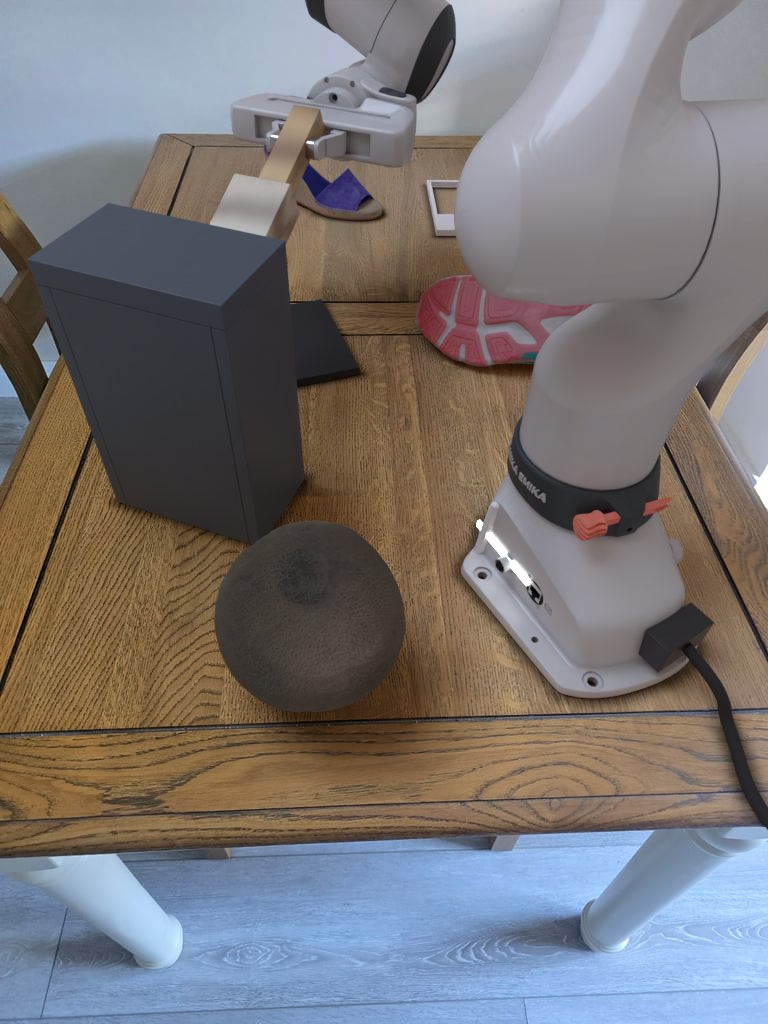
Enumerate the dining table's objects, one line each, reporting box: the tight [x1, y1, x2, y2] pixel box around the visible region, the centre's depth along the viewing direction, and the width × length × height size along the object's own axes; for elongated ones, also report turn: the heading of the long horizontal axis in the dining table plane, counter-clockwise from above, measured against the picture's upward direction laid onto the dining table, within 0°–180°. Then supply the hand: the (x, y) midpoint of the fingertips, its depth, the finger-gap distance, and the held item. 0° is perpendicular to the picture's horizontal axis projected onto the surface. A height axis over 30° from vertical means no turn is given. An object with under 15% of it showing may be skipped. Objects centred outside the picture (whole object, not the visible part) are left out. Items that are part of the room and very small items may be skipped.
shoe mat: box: [290, 298, 360, 387], centre depth 89 cm, size 16×10×1 cm, turn 20°
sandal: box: [263, 95, 384, 222], centre depth 110 cm, size 8×20×15 cm, turn 60°
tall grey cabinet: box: [26, 202, 306, 546], centre depth 62 cm, size 10×16×26 cm, turn 70°
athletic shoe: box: [414, 274, 593, 368], centre depth 88 cm, size 27×9×12 cm
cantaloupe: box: [213, 520, 407, 713], centre depth 53 cm, size 14×14×15 cm
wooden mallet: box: [209, 105, 325, 245], centre depth 70 cm, size 18×6×4 cm, turn 160°
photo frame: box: [425, 179, 459, 237], centre depth 115 cm, size 15×1×18 cm
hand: (292, 147), depth 72 cm, fingers closed on wooden mallet, 3 cm apart
